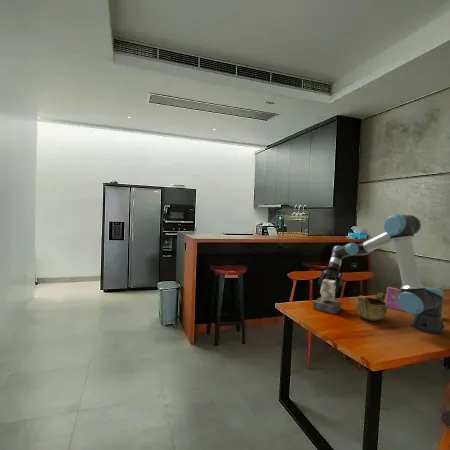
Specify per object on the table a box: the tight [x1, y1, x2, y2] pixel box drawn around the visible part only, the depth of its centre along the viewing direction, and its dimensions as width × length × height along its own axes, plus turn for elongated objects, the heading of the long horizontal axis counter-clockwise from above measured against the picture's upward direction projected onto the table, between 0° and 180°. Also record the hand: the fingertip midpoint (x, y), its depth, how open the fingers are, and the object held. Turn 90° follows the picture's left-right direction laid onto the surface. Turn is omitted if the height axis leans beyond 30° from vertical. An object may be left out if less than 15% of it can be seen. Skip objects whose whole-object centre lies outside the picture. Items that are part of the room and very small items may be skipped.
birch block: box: [320, 278, 336, 301], centre depth 192 cm, size 7×7×12 cm
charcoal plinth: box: [312, 296, 342, 315], centre depth 192 cm, size 14×14×5 cm
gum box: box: [386, 285, 405, 312], centre depth 197 cm, size 24×8×14 cm, turn 44°
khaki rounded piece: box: [355, 291, 388, 322], centre depth 177 cm, size 22×17×15 cm
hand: (327, 294), depth 189 cm, fingers open, 7 cm apart
